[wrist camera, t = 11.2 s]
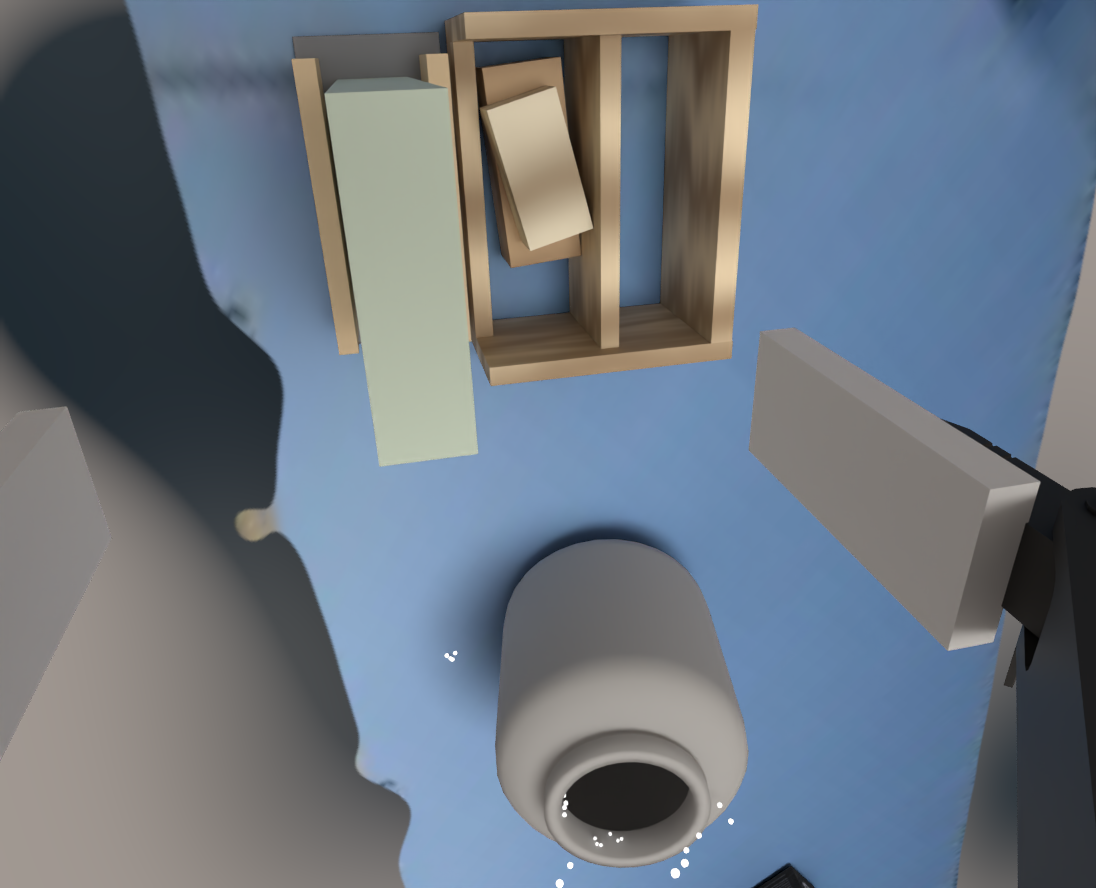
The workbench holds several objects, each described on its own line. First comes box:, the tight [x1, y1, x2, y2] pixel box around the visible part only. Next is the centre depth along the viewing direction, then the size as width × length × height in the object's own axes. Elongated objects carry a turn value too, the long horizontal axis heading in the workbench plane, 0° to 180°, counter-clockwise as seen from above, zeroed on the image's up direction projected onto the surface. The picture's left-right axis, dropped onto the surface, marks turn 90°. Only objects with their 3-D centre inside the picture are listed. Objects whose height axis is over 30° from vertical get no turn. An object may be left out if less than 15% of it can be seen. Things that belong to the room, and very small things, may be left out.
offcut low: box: [475, 57, 581, 268], centre depth 42 cm, size 10×4×4 cm, turn 7°
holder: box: [292, 32, 471, 355], centre depth 41 cm, size 16×7×5 cm, turn 2°
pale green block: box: [325, 77, 478, 467], centre depth 34 cm, size 12×4×20 cm, turn 2°
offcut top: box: [479, 85, 593, 251], centre depth 40 cm, size 7×4×2 cm, turn 17°
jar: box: [445, 539, 748, 888], centre depth 47 cm, size 19×15×25 cm
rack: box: [445, 5, 758, 386], centre depth 41 cm, size 17×13×8 cm
